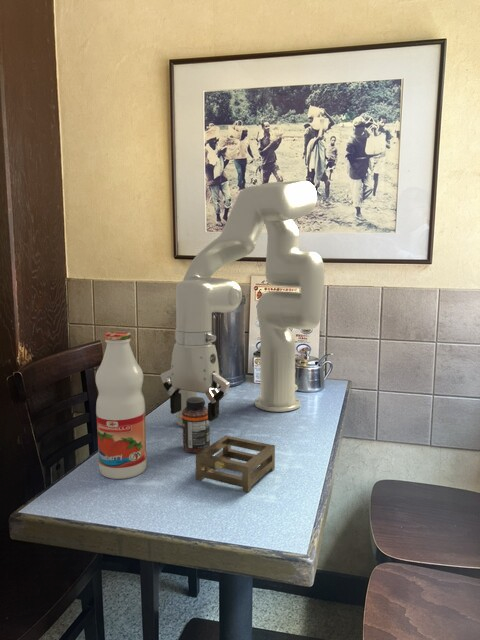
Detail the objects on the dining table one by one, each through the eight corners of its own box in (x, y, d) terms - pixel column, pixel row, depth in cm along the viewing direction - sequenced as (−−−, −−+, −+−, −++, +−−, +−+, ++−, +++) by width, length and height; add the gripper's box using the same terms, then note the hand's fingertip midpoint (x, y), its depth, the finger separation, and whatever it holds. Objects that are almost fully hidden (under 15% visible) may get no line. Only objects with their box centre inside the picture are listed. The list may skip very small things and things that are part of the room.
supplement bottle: (183, 443, 119) (182, 395, 117) (209, 442, 120) (208, 394, 118) (182, 454, 113) (181, 403, 111) (210, 453, 114) (209, 403, 112)
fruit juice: (154, 462, 109) (150, 329, 105) (134, 482, 100) (129, 338, 96) (113, 457, 112) (107, 327, 107) (90, 477, 103) (82, 336, 98)
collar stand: (225, 457, 111) (225, 435, 111) (274, 469, 106) (274, 445, 105) (193, 481, 101) (193, 456, 100) (246, 494, 95) (245, 468, 95)
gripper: (237, 339, 112) (237, 417, 114) (171, 332, 120) (172, 405, 122) (219, 345, 105) (219, 427, 107) (150, 337, 113) (151, 414, 116)
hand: (194, 415), depth 115 cm, fingers open, 9 cm apart
